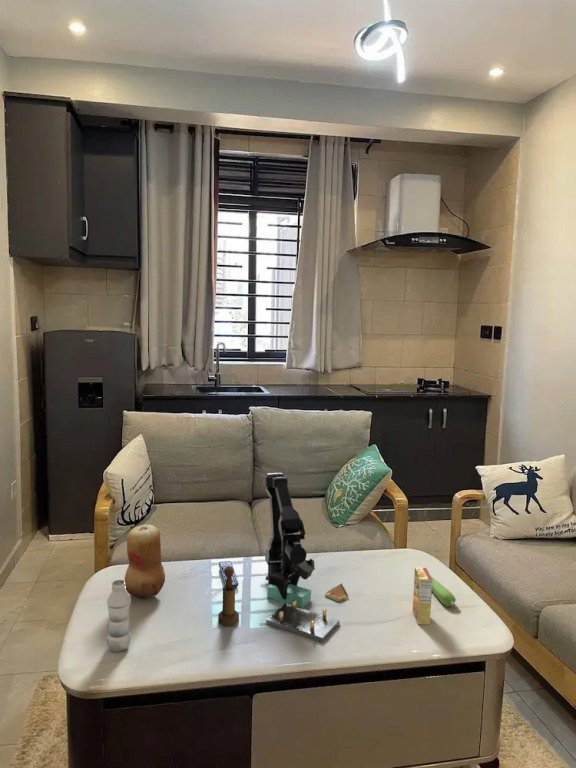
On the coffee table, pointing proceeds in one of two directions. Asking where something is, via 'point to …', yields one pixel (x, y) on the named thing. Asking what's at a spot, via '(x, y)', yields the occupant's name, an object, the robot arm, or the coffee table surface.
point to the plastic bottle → (118, 617)
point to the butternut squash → (144, 562)
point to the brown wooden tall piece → (228, 602)
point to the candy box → (422, 596)
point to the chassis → (303, 622)
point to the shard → (337, 593)
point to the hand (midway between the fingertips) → (289, 595)
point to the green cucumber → (442, 593)
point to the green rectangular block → (290, 595)
